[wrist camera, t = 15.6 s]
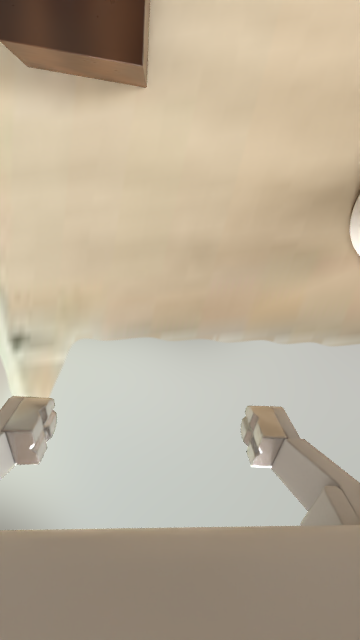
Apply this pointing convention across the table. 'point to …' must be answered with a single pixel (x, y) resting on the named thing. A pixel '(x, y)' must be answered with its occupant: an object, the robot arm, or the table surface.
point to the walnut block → (80, 37)
